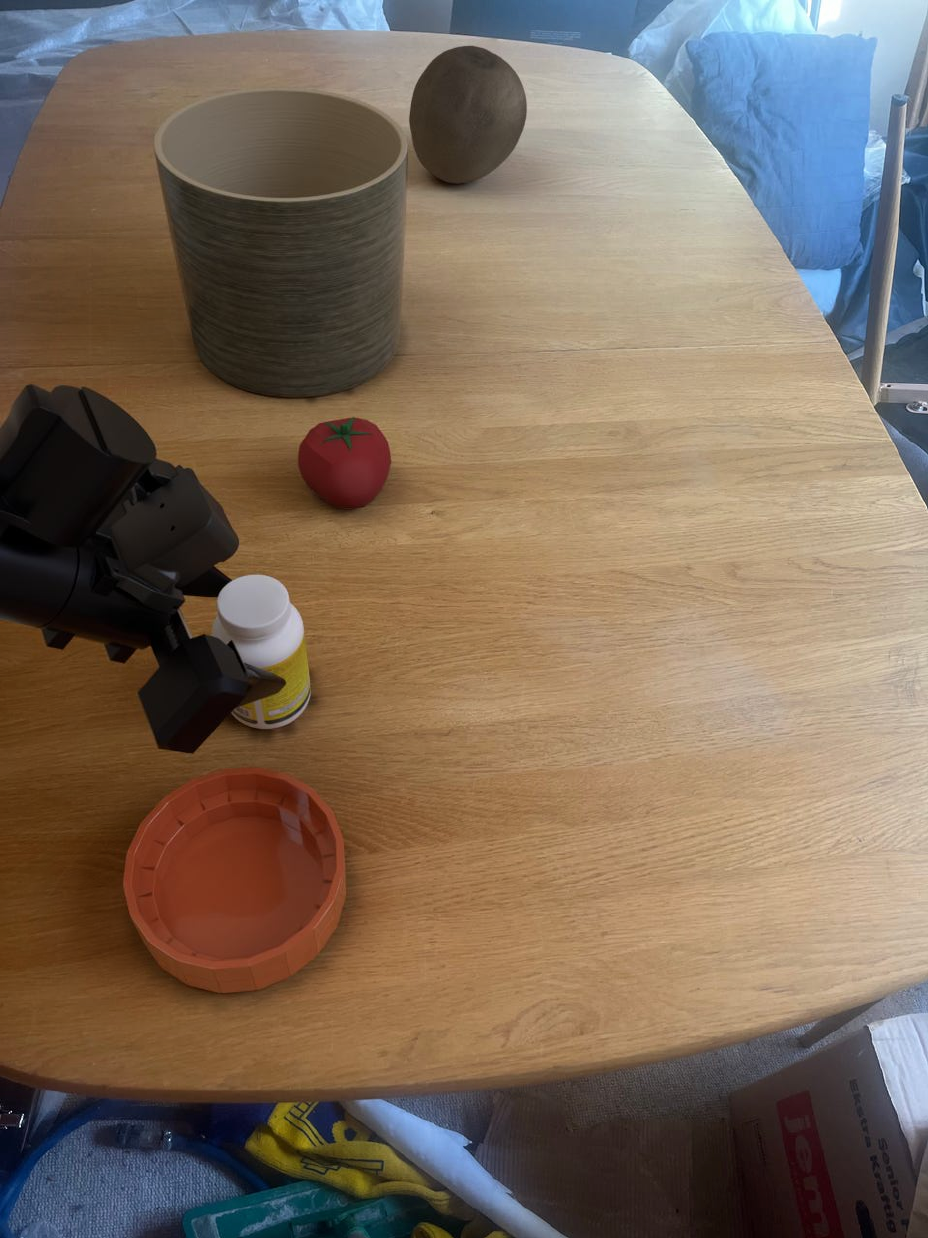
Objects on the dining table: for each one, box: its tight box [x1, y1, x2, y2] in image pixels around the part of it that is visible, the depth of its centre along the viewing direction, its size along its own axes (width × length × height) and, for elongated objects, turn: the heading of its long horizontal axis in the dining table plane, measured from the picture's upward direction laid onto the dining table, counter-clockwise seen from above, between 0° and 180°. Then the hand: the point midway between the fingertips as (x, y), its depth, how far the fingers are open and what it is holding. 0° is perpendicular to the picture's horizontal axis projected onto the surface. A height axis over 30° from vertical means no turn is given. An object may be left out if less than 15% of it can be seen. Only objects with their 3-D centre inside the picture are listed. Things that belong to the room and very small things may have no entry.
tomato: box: [297, 416, 392, 510], centre depth 83 cm, size 8×8×7 cm
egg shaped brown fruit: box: [408, 45, 528, 184], centre depth 119 cm, size 14×14×15 cm
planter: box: [152, 86, 409, 398], centre depth 93 cm, size 22×22×20 cm
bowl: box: [122, 766, 347, 994], centre depth 60 cm, size 13×13×4 cm
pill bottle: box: [211, 574, 312, 730], centre depth 67 cm, size 6×6×11 cm
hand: (256, 636), depth 65 cm, fingers open, 9 cm apart
